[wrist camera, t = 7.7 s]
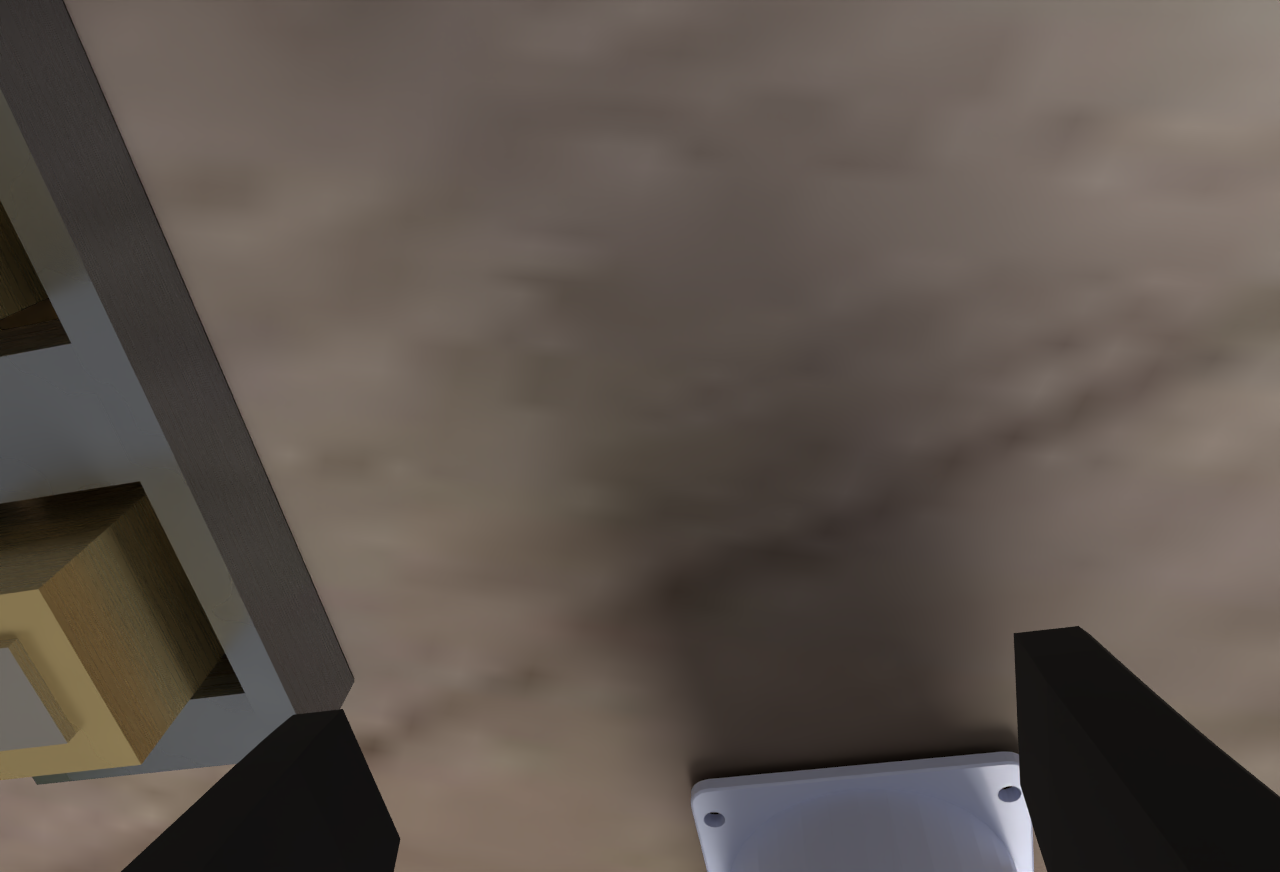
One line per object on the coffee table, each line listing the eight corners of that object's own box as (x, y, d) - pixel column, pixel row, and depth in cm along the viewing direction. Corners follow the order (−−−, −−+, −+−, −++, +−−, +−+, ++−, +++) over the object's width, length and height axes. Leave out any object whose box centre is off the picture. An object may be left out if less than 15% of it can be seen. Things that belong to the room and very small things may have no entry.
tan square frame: (261, 603, 21) (133, 775, 17) (110, 623, 22) (-54, 795, 17) (191, 454, 20) (28, 597, 15) (31, 480, 20) (-175, 627, 16)
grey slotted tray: (354, 681, 22) (315, 755, 20) (99, 711, 23) (37, 784, 21) (13, -114, 15) (-104, -131, 13) (-330, -17, 16) (-490, -18, 14)
